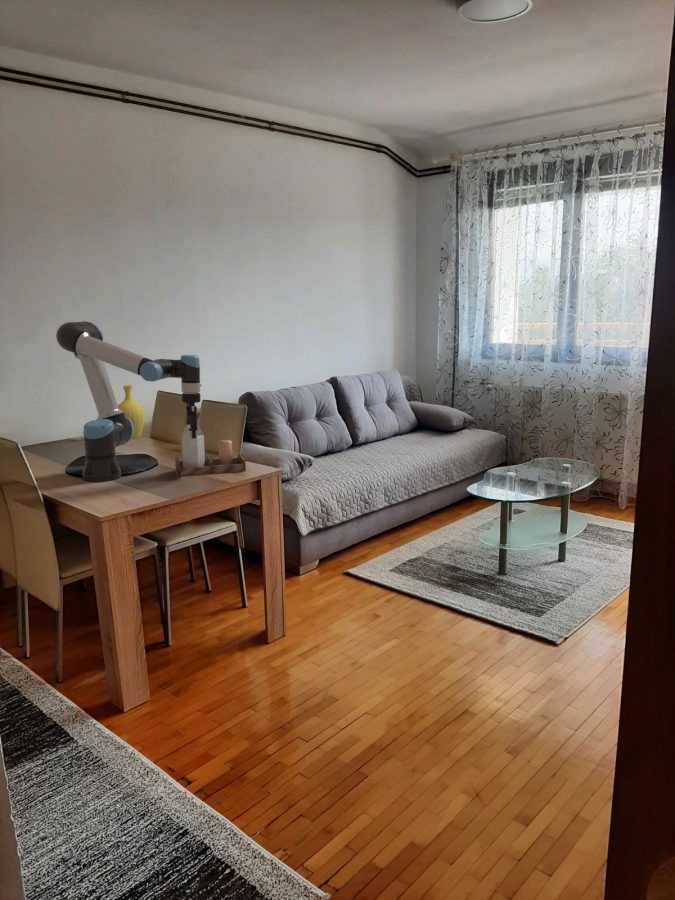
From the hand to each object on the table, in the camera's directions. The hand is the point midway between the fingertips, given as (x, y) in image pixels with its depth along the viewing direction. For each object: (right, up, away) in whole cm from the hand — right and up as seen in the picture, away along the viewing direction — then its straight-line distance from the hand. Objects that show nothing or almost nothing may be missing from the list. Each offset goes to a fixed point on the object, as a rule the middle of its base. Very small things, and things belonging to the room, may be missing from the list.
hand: (192, 442), depth 279 cm
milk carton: (0, -12, +3) cm, 12 cm away
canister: (+13, -11, +6) cm, 18 cm away
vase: (-52, +4, +82) cm, 97 cm away
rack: (+7, -13, +5) cm, 15 cm away
